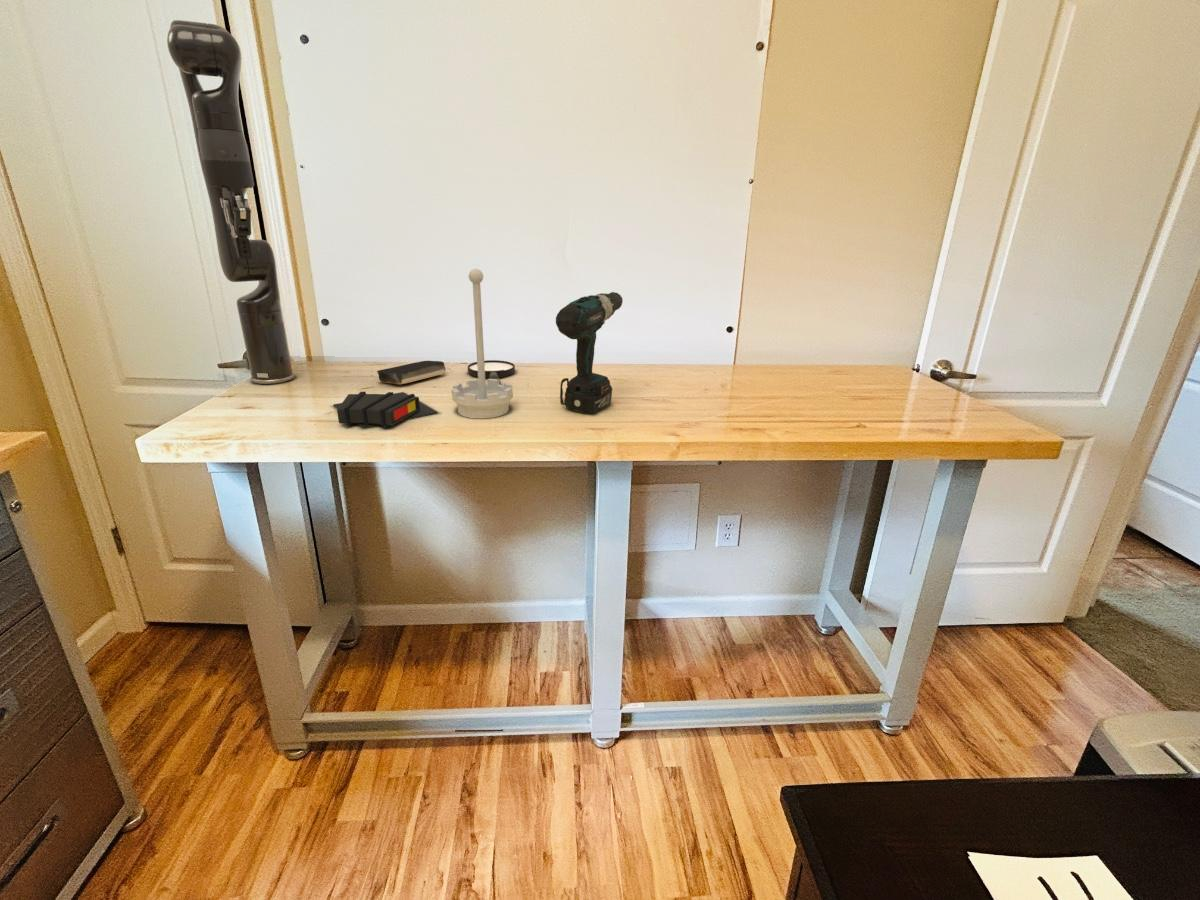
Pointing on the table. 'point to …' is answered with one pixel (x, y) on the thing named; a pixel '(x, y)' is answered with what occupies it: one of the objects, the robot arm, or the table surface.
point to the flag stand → (481, 374)
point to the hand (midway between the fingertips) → (245, 258)
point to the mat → (422, 412)
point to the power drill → (586, 350)
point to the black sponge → (411, 372)
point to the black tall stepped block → (377, 408)
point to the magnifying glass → (493, 369)
